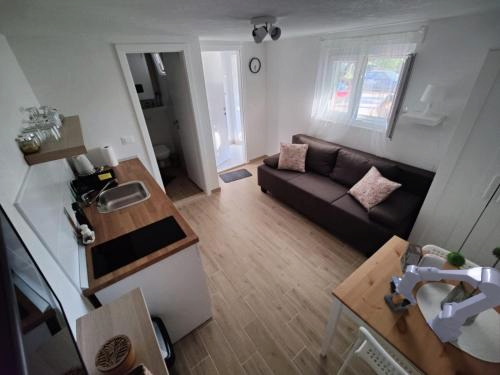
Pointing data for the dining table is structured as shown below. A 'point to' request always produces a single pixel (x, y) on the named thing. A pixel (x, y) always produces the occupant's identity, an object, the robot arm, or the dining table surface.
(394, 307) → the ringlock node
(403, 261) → the coffee box
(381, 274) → the dining table surface
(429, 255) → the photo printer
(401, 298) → the wedge
